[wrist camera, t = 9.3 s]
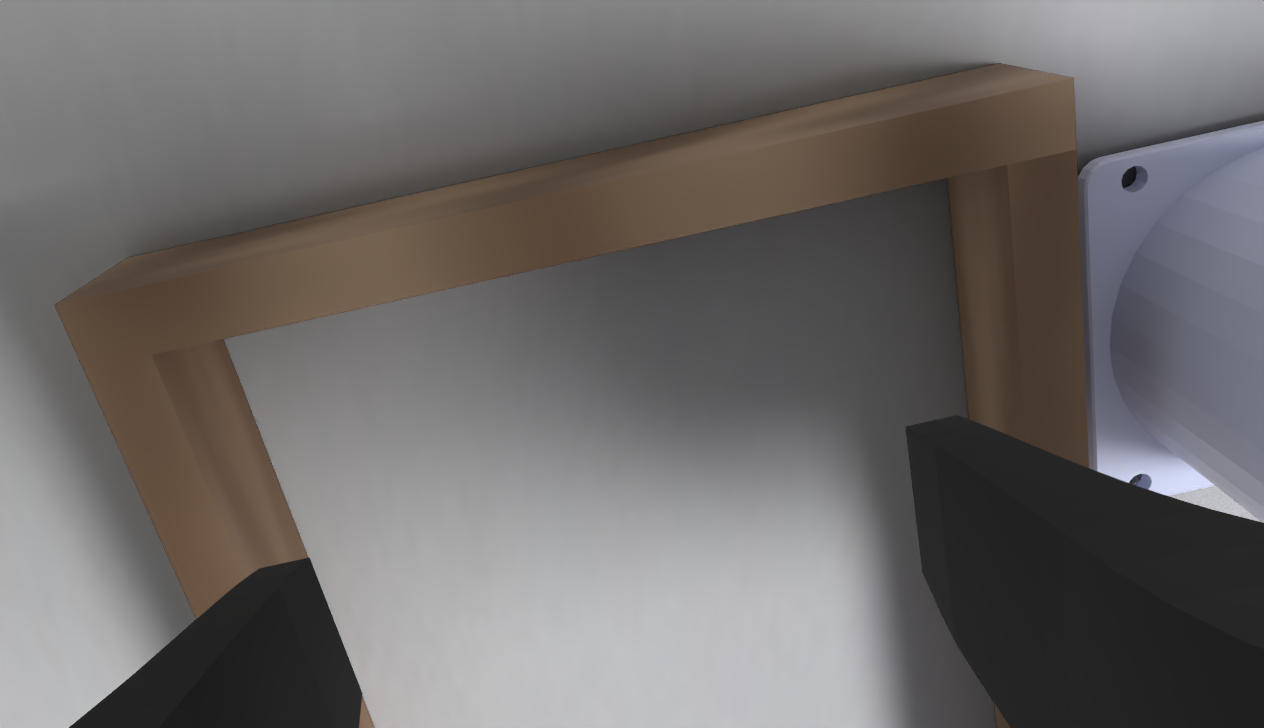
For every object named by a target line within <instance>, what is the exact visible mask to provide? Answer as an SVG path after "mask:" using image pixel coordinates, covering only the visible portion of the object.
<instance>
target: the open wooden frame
mask: <svg viewBox="0 0 1264 728" xmlns="http://www.w3.org/2000/svg"><path fill="white" fill-rule="evenodd" d="M946 178H947V181H948V193H949V204H950V215H951V226H952V238H953V249H954V260H955V271H956V282H957V294H958V305H959V316H960V327H961V339H962V350H963V361H964V372H965V383H966V395H967V406H968V417H969V420H972V421H975V422H977V423H980V424H982V425H985V426H988V427H990V428H992V429H995V430H997V431H1000V432H1002V433H1005V434H1007V435H1009V436H1012V437H1014V438H1016V439H1019V440H1021V441H1024V442H1026V443H1028V444H1031V445H1033V446H1036V447H1038V448H1040V449H1043V450H1045V451H1048V452H1050V453H1052V454H1055V455H1057V456H1060V457H1062V458H1065V459H1067V460H1070V461H1072V462H1075V463H1077V464H1080V465H1082V466H1085V467H1087V468H1089V454H1088V429H1087V403H1086V378H1085V352H1084V327H1083V301H1082V276H1081V251H1080V225H1079V200H1078V174H1077V149H1076V123H1075V98H1074V78H1072V77H1067V76H1062V75H1056V74H1051V73H1046V72H1041V71H1036V70H1031V69H1026V68H1021V67H1016V66H1011V65H1006V64H1001V63H997V64H993V65H988V66H984V67H980V68H975V69H971V70H966V71H962V72H957V73H953V74H948V75H944V76H939V77H935V78H930V79H926V80H921V81H917V82H912V83H908V84H903V85H899V86H894V87H890V88H885V89H881V90H877V91H872V92H868V93H863V94H859V95H854V96H850V97H845V98H841V99H836V100H832V101H827V102H823V103H818V104H814V105H809V106H805V107H800V108H796V109H791V110H787V111H782V112H778V113H773V114H769V115H765V116H760V117H756V118H751V119H747V120H742V121H738V122H733V123H729V124H724V125H720V126H715V127H711V128H706V129H702V130H697V131H693V132H688V133H684V134H679V135H675V136H670V137H666V138H662V139H657V140H653V141H648V142H644V143H639V144H635V145H630V146H626V147H621V148H617V149H612V150H608V151H603V152H599V153H594V154H590V155H585V156H581V157H576V158H572V159H567V160H563V161H558V162H554V163H550V164H545V165H541V166H536V167H532V168H527V169H523V170H518V171H514V172H509V173H505V174H500V175H496V176H491V177H487V178H482V179H478V180H473V181H469V182H464V183H460V184H455V185H451V186H447V187H442V188H438V189H433V190H429V191H424V192H420V193H415V194H411V195H406V196H402V197H397V198H393V199H388V200H384V201H379V202H375V203H370V204H366V205H361V206H357V207H352V208H348V209H344V210H339V211H335V212H330V213H326V214H321V215H317V216H312V217H308V218H303V219H299V220H294V221H290V222H285V223H281V224H276V225H272V226H267V227H263V228H258V229H254V230H249V231H245V232H240V233H236V234H232V235H227V236H223V237H218V238H214V239H209V240H205V241H200V242H196V243H191V244H187V245H182V246H178V247H173V248H169V249H164V250H160V251H155V252H151V253H146V254H142V255H137V256H133V257H129V258H126V259H124V260H123V261H121V262H120V263H118V264H117V265H115V266H114V267H112V268H111V269H109V270H107V271H106V272H104V273H103V274H101V275H100V276H98V277H97V278H95V279H94V280H92V281H91V282H89V283H88V284H86V285H84V286H83V287H81V288H80V289H78V290H77V291H75V292H74V293H72V294H71V295H69V296H68V297H66V298H64V299H63V300H61V301H60V302H58V303H57V304H55V308H56V310H57V312H58V314H59V316H60V319H61V321H62V323H63V325H64V327H65V330H66V332H67V334H68V336H69V339H70V341H71V343H72V345H73V347H74V350H75V352H76V354H77V356H78V358H79V361H80V363H81V365H82V367H83V369H84V372H85V374H86V376H87V378H88V381H89V383H90V385H91V387H92V389H93V392H94V394H95V396H96V398H97V400H98V403H99V405H100V407H101V409H102V412H103V414H104V416H105V418H106V420H107V423H108V425H109V427H110V429H111V431H112V434H113V436H114V438H115V440H116V442H117V445H118V447H119V449H120V451H121V454H122V456H123V458H124V460H125V462H126V465H127V467H128V469H129V471H130V473H131V476H132V478H133V480H134V482H135V484H136V487H137V489H138V491H139V493H140V496H141V498H142V500H143V502H144V504H145V507H146V509H147V511H148V513H149V515H150V518H151V520H152V522H153V524H154V527H155V529H156V531H157V533H158V535H159V538H160V540H161V542H162V544H163V546H164V549H165V551H166V553H167V555H168V557H169V560H170V562H171V564H172V566H173V569H174V571H175V573H176V575H177V577H178V580H179V582H180V584H181V586H182V588H183V591H184V593H185V595H186V597H187V600H188V602H189V604H190V606H191V608H192V611H193V613H194V615H195V617H196V619H197V618H198V617H200V616H201V615H202V614H203V613H204V612H205V611H206V610H207V609H209V608H210V607H211V606H212V605H213V604H214V603H216V602H217V601H218V600H219V599H220V598H221V597H223V596H224V595H225V594H226V593H227V592H229V591H230V590H231V589H232V588H233V587H235V586H236V585H237V584H238V583H240V582H241V581H242V580H244V579H245V578H246V577H248V576H249V575H251V574H252V573H253V572H255V571H256V570H258V569H259V568H263V567H268V566H272V565H277V564H281V563H286V562H291V561H295V560H300V559H304V558H308V555H307V553H306V550H305V548H304V545H303V543H302V540H301V537H300V535H299V532H298V530H297V527H296V525H295V522H294V519H293V517H292V514H291V512H290V509H289V507H288V504H287V502H286V499H285V496H284V494H283V491H282V489H281V486H280V484H279V481H278V478H277V476H276V473H275V471H274V468H273V466H272V463H271V460H270V458H269V455H268V453H267V450H266V448H265V445H264V442H263V440H262V437H261V435H260V432H259V430H258V427H257V425H256V422H255V419H254V417H253V414H252V412H251V409H250V407H249V404H248V401H247V399H246V396H245V394H244V391H243V389H242V386H241V383H240V381H239V378H238V376H237V373H236V371H235V368H234V365H233V363H232V360H231V358H230V355H229V353H228V350H227V348H226V345H225V342H224V340H223V339H225V338H229V337H234V336H238V335H243V334H247V333H252V332H256V331H261V330H265V329H270V328H274V327H279V326H283V325H288V324H292V323H297V322H301V321H306V320H310V319H315V318H319V317H324V316H328V315H333V314H337V313H342V312H346V311H351V310H355V309H360V308H364V307H369V306H373V305H378V304H382V303H387V302H391V301H396V300H400V299H405V298H410V297H414V296H419V295H423V294H428V293H432V292H437V291H441V290H446V289H450V288H455V287H459V286H464V285H468V284H473V283H477V282H482V281H486V280H491V279H495V278H500V277H504V276H509V275H513V274H518V273H522V272H527V271H531V270H536V269H540V268H545V267H549V266H554V265H558V264H563V263H567V262H572V261H576V260H581V259H585V258H590V257H594V256H599V255H603V254H608V253H612V252H617V251H621V250H626V249H630V248H635V247H639V246H644V245H648V244H653V243H657V242H662V241H666V240H671V239H675V238H680V237H684V236H689V235H693V234H698V233H702V232H707V231H711V230H716V229H720V228H725V227H729V226H734V225H738V224H743V223H747V222H752V221H756V220H761V219H765V218H770V217H774V216H779V215H783V214H788V213H792V212H797V211H801V210H806V209H810V208H815V207H819V206H824V205H828V204H833V203H837V202H842V201H846V200H851V199H855V198H860V197H864V196H869V195H873V194H878V193H882V192H887V191H891V190H896V189H901V188H905V187H910V186H914V185H919V184H923V183H928V182H932V181H937V180H941V179H946ZM994 709H995V720H996V728H1010V726H1009V725H1008V723H1007V721H1006V720H1005V718H1004V717H1003V715H1002V714H1001V712H1000V711H999V709H998V708H997V706H996V705H995V703H994ZM359 728H375V727H374V725H373V722H372V720H371V717H370V715H369V712H368V709H367V707H366V704H365V702H364V699H363V697H362V702H361V712H360V722H359Z"/></svg>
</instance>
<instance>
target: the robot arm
mask: <svg viewBox="0 0 1264 728" xmlns="http://www.w3.org/2000/svg"><path fill="white" fill-rule="evenodd" d="M1133 166H1135V167H1136V170H1137V175H1136V180H1135V181H1134V182H1133V183H1132V184H1131V185H1130V186H1128V187H1126V188H1123V186H1122V183H1121V181H1122V177H1123V174H1124V173H1125V172H1126V171H1127V170H1128V169H1129V168H1131V167H1133ZM1078 200H1079V225H1080V251H1081V276H1082V301H1083V327H1084V352H1085V378H1086V403H1087V429H1088V454H1089V468H1087V467H1085V466H1082V465H1080V464H1077V463H1075V462H1072V461H1070V460H1067V459H1065V458H1062V457H1060V456H1057V455H1055V454H1052V453H1050V452H1048V451H1045V450H1043V449H1040V448H1038V447H1036V446H1033V445H1031V444H1028V443H1026V442H1024V441H1021V440H1019V439H1016V438H1014V437H1012V436H1009V435H1007V434H1005V433H1002V432H1000V431H997V430H995V429H992V428H990V427H988V426H985V425H982V424H980V423H977V422H975V421H972V420H969V419H966V418H963V417H960V416H953V417H948V418H944V419H939V420H934V421H930V422H925V423H921V424H916V425H912V426H907V427H906V434H907V443H908V452H909V460H910V469H911V478H912V486H913V495H914V503H915V512H916V521H917V529H918V538H919V547H920V555H921V564H922V572H923V574H924V576H925V579H926V581H927V583H928V585H929V587H930V590H931V592H932V594H933V596H934V598H935V601H936V603H937V605H938V607H939V609H940V612H941V614H942V616H943V618H944V620H945V622H946V624H947V626H948V628H949V630H950V632H951V634H952V636H953V638H954V640H955V642H956V644H957V645H958V647H959V649H960V650H961V652H962V653H963V655H964V657H965V658H966V660H967V661H968V663H969V664H970V666H971V667H972V669H973V671H974V672H975V674H976V675H977V677H978V678H979V680H980V681H981V683H982V685H983V686H984V688H985V689H986V691H987V692H988V694H989V695H990V697H991V699H992V700H993V702H994V703H995V705H996V706H997V708H998V709H999V711H1000V712H1001V714H1002V715H1003V717H1004V718H1005V720H1006V721H1007V723H1008V725H1009V726H1010V728H1264V121H1260V122H1255V123H1251V124H1246V125H1242V126H1237V127H1233V128H1228V129H1224V130H1219V131H1215V132H1210V133H1206V134H1201V135H1197V136H1192V137H1188V138H1183V139H1178V140H1174V141H1169V142H1165V143H1160V144H1156V145H1151V146H1147V147H1142V148H1138V149H1133V150H1129V151H1124V152H1120V153H1115V154H1111V155H1106V156H1102V157H1099V158H1096V159H1094V160H1092V161H1090V162H1089V163H1088V164H1087V165H1086V166H1085V167H1084V168H1083V169H1082V171H1081V173H1080V174H1079V176H1078ZM1138 474H1142V476H1141V479H1140V480H1139V481H1138V482H1137V483H1136V484H1134V485H1133V484H1130V483H1129V482H1130V480H1131V479H1132V478H1133V477H1134V476H1136V475H1138ZM1211 486H1216V487H1218V488H1219V489H1220V490H1221V491H1223V492H1224V493H1225V494H1227V495H1228V496H1229V497H1231V498H1232V499H1233V500H1234V501H1236V502H1237V503H1238V504H1240V505H1241V506H1242V507H1243V508H1245V509H1246V510H1247V511H1249V512H1250V513H1251V514H1252V515H1254V516H1255V517H1256V518H1258V519H1259V520H1260V521H1261V522H1258V521H1254V520H1250V519H1246V518H1242V517H1238V516H1234V515H1230V514H1227V513H1223V512H1219V511H1215V510H1211V509H1208V508H1204V507H1201V506H1198V505H1194V504H1191V503H1188V502H1184V501H1181V500H1178V499H1175V498H1172V497H1169V496H1170V495H1175V494H1179V493H1184V492H1188V491H1193V490H1198V489H1202V488H1207V487H1211ZM1262 522H1263V523H1262ZM361 702H362V692H361V689H360V686H359V684H358V681H357V679H356V676H355V674H354V671H353V668H352V666H351V663H350V661H349V658H348V656H347V653H346V650H345V648H344V645H343V643H342V640H341V638H340V635H339V632H338V630H337V627H336V625H335V622H334V620H333V617H332V615H331V612H330V609H329V607H328V604H327V602H326V599H325V597H324V594H323V591H322V589H321V586H320V584H319V581H318V579H317V576H316V573H315V571H314V568H313V566H312V563H311V561H310V558H304V559H300V560H295V561H291V562H286V563H281V564H277V565H272V566H268V567H263V568H259V569H258V570H256V571H255V572H253V573H252V574H251V575H249V576H248V577H246V578H245V579H244V580H242V581H241V582H240V583H238V584H237V585H236V586H235V587H233V588H232V589H231V590H230V591H229V592H227V593H226V594H225V595H224V596H223V597H221V598H220V599H219V600H218V601H217V602H216V603H214V604H213V605H212V606H211V607H210V608H209V609H207V610H206V611H205V612H204V613H203V614H202V615H201V616H200V617H198V618H197V619H196V620H195V621H194V622H193V623H192V624H190V625H189V626H188V627H187V628H186V629H185V630H184V631H182V632H181V633H180V634H179V635H178V636H177V637H176V638H175V639H173V640H172V641H171V642H170V643H169V644H168V645H167V646H165V647H164V648H163V649H162V650H161V651H160V652H159V653H157V654H156V655H155V656H154V657H153V658H152V659H151V660H149V661H148V662H147V663H146V664H145V665H144V666H143V667H142V668H140V669H139V670H138V671H137V672H136V673H135V674H133V675H132V676H131V677H130V678H129V679H128V680H126V681H125V682H124V683H123V684H121V685H120V686H119V687H118V688H117V689H115V690H114V691H113V692H112V693H111V694H109V695H108V696H107V697H106V698H104V699H103V700H102V701H101V702H100V703H98V704H97V705H96V706H95V707H94V708H92V709H91V710H90V711H89V712H87V713H86V714H85V715H84V716H83V717H81V718H80V719H79V720H78V721H77V722H75V723H74V724H73V725H72V726H70V727H69V728H359V722H360V712H361Z"/></svg>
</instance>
